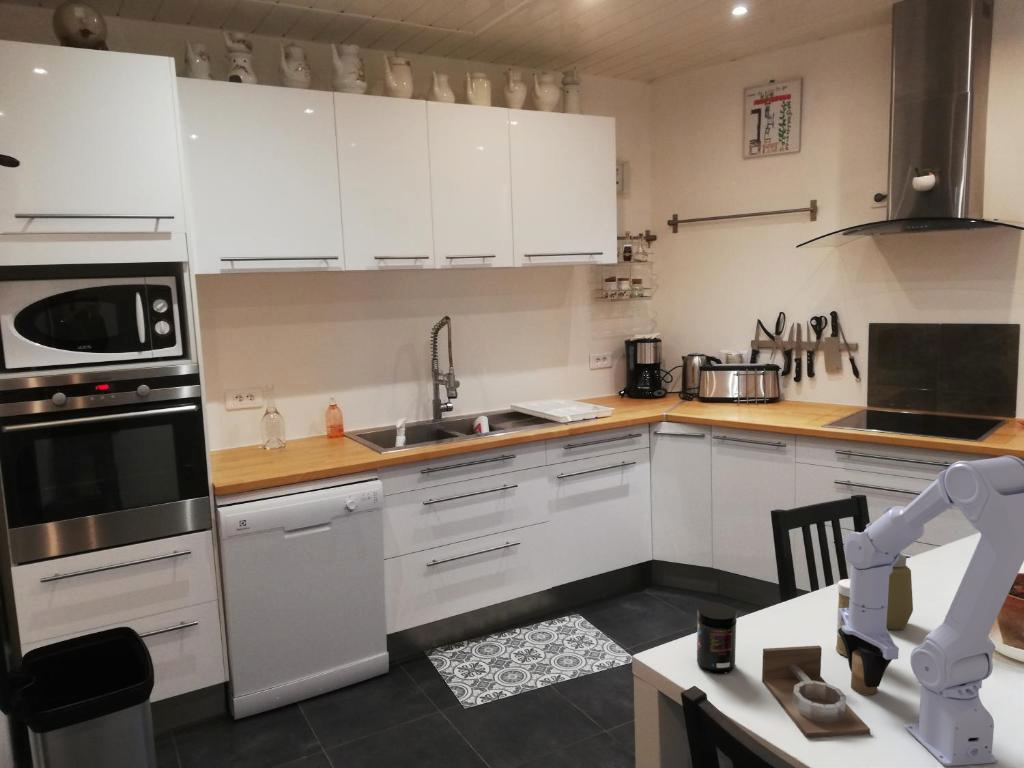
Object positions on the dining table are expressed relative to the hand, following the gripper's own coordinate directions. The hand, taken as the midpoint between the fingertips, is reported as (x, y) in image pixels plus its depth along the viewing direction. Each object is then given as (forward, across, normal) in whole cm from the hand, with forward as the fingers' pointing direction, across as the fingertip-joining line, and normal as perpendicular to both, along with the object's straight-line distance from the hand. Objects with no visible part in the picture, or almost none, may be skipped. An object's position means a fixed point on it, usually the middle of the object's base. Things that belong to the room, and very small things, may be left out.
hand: (864, 678), depth 123 cm
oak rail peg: (+2, 0, 0) cm, 2 cm away
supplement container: (+2, -10, -22) cm, 24 cm away
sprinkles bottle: (+2, -12, +4) cm, 13 cm away
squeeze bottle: (+2, -22, +18) cm, 28 cm away
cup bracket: (+2, +4, -11) cm, 12 cm away
